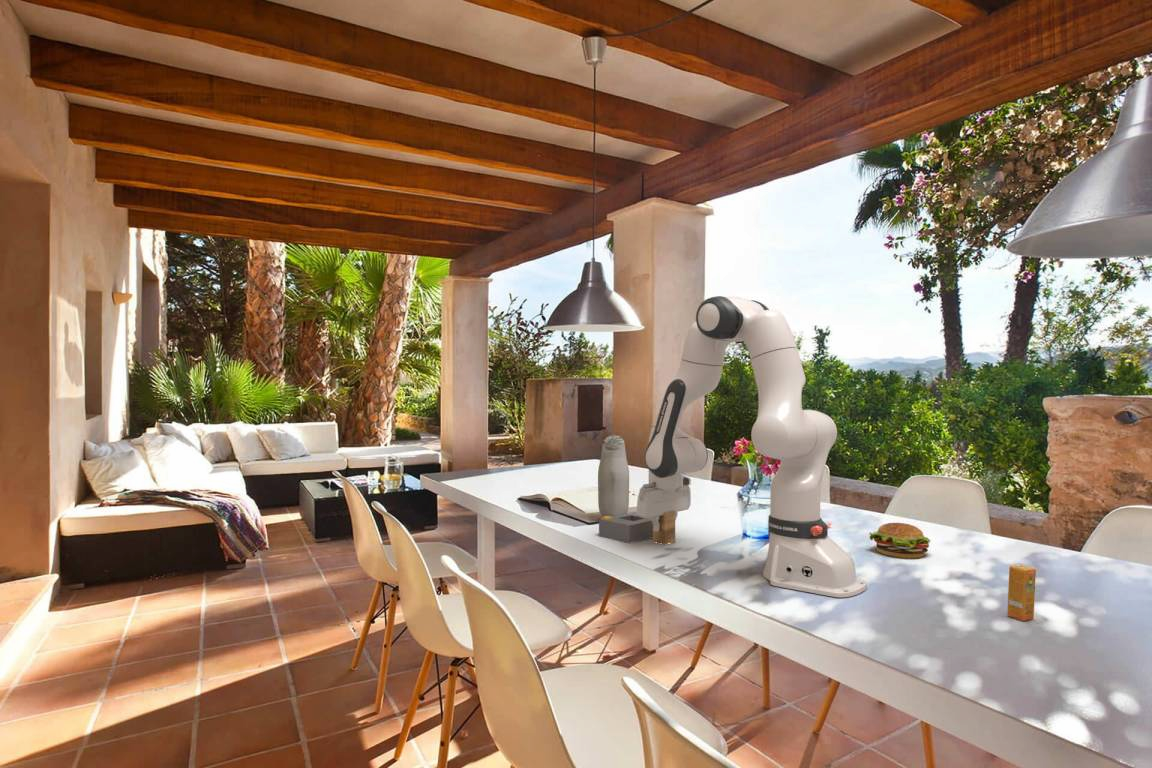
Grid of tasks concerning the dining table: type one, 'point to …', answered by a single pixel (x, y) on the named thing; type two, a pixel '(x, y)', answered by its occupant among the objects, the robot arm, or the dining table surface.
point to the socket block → (626, 527)
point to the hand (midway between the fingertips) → (664, 529)
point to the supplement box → (1021, 592)
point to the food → (900, 540)
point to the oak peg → (665, 529)
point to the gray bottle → (613, 478)
